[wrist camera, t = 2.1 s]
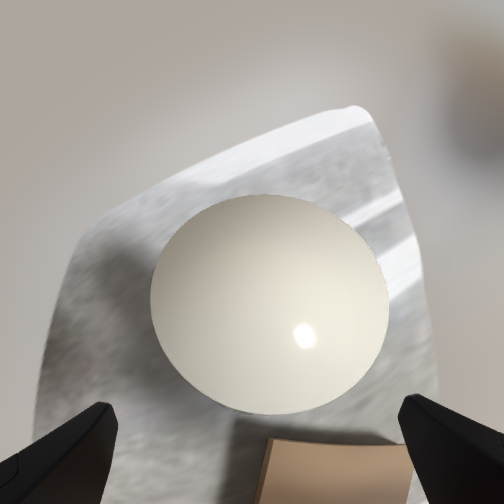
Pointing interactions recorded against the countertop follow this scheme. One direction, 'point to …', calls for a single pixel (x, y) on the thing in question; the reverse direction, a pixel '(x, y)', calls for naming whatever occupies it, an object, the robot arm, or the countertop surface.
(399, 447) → the block
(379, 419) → the countertop surface
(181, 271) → the tumbler
